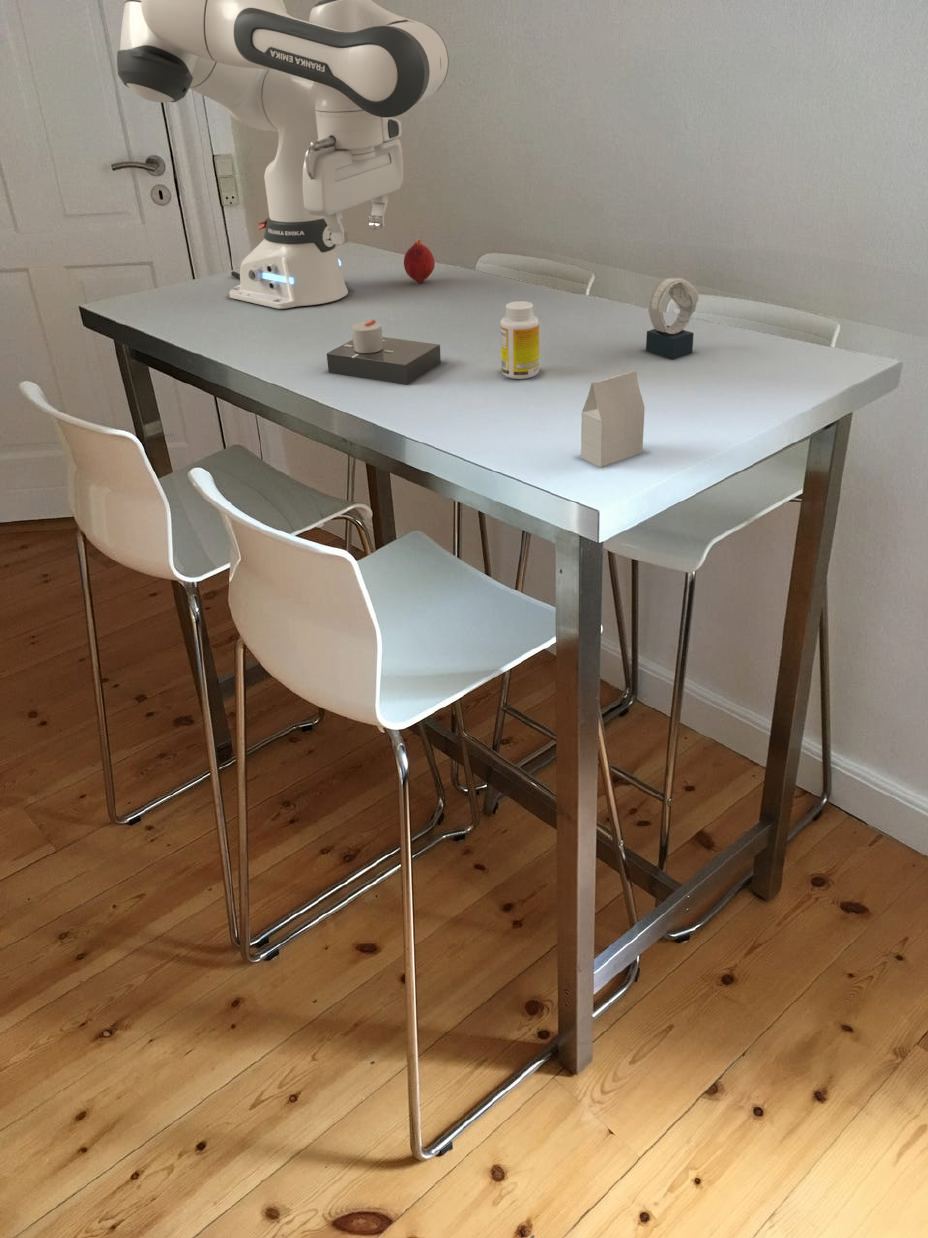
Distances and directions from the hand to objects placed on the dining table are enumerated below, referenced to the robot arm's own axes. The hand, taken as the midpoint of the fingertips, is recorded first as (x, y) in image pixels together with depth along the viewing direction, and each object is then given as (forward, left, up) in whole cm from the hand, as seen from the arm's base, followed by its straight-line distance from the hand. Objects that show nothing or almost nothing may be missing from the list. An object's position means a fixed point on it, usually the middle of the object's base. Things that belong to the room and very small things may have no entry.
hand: (359, 235), depth 155 cm
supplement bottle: (+22, +6, -20) cm, 30 cm away
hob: (+2, +1, -20) cm, 20 cm away
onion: (-18, +45, -20) cm, 52 cm away
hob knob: (0, 0, -16) cm, 16 cm away
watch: (+39, +24, -20) cm, 50 cm away
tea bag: (+46, -16, -20) cm, 53 cm away
